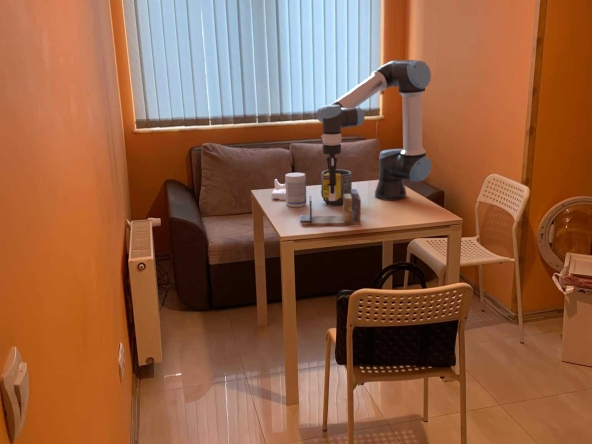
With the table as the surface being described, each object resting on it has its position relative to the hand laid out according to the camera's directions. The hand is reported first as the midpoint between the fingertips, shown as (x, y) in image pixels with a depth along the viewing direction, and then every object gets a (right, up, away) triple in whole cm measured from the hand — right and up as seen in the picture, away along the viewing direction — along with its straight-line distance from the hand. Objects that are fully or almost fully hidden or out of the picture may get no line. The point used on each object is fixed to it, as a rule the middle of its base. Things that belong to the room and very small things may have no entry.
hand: (331, 198), depth 247 cm
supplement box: (0, -1, 0) cm, 1 cm away
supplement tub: (-15, -2, +30) cm, 34 cm away
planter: (+4, -1, +32) cm, 32 cm away
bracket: (-22, +2, +46) cm, 52 cm away
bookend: (-11, -9, +3) cm, 14 cm away
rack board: (0, -10, +3) cm, 11 cm away
